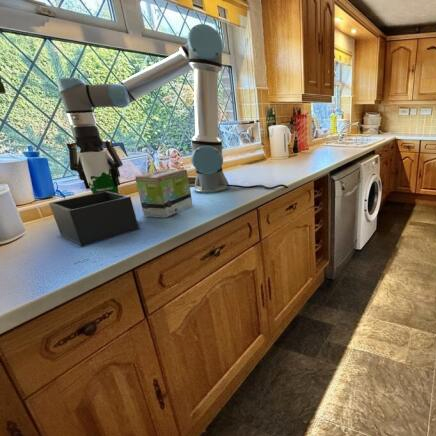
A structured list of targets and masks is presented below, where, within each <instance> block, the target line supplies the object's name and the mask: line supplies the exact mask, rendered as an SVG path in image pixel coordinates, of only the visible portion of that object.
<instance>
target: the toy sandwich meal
mask: <svg viewBox="0 0 436 436" xmlns="http://www.w3.org/2000/svg"><path fill="white" fill-rule="evenodd" d="M188 181H189V187H195V181H196V175H188Z"/></svg>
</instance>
